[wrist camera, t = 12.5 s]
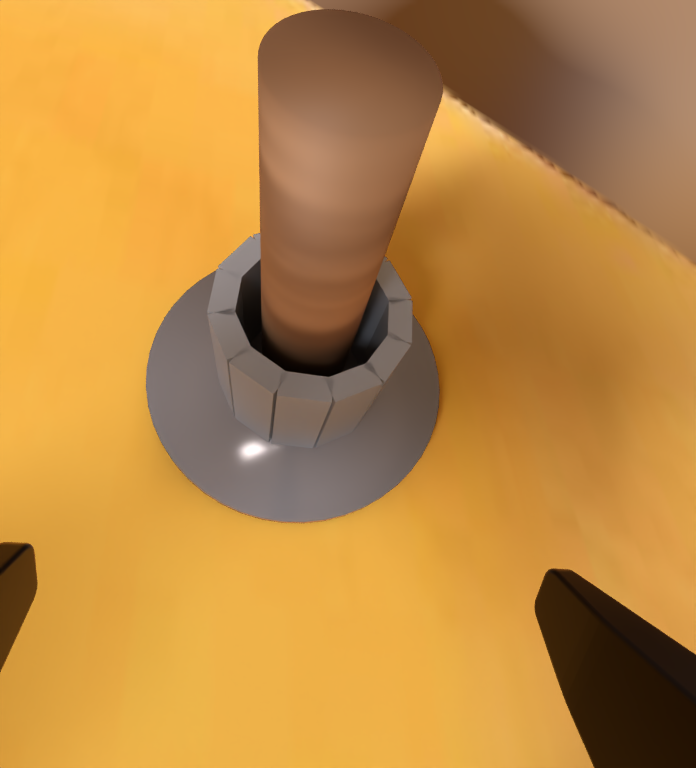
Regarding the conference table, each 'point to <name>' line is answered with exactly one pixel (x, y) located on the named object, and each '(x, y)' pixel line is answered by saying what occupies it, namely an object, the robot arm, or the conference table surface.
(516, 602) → the conference table surface
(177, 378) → the grey flared collar base
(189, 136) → the conference table surface
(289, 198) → the brown wooden dowel
